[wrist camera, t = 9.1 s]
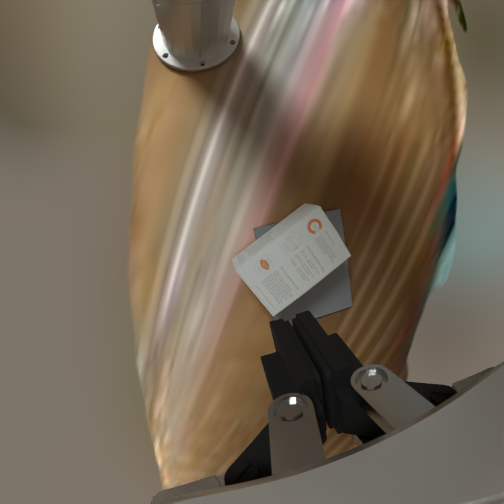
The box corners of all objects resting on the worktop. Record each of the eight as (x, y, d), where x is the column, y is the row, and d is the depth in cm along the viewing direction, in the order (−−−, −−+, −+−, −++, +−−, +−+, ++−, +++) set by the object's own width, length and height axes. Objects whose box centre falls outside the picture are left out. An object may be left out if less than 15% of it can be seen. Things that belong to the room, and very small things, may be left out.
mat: (253, 228, 41) (254, 229, 41) (338, 208, 42) (340, 209, 42) (275, 328, 45) (276, 329, 44) (350, 305, 46) (352, 306, 46)
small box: (264, 299, 43) (334, 246, 43) (273, 318, 37) (353, 256, 37) (230, 258, 41) (304, 201, 41) (234, 271, 35) (320, 204, 35)
